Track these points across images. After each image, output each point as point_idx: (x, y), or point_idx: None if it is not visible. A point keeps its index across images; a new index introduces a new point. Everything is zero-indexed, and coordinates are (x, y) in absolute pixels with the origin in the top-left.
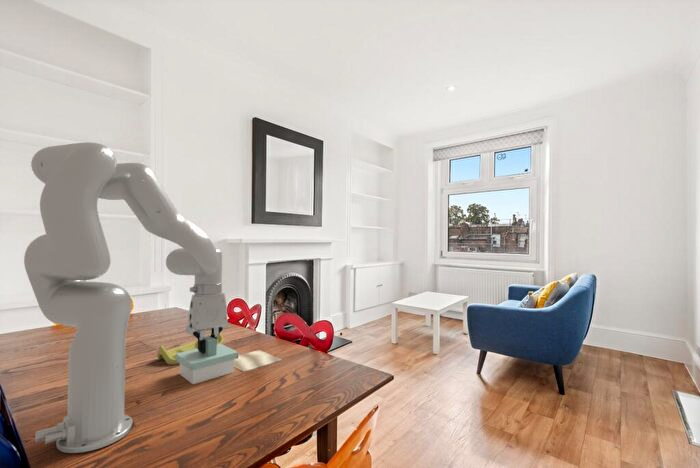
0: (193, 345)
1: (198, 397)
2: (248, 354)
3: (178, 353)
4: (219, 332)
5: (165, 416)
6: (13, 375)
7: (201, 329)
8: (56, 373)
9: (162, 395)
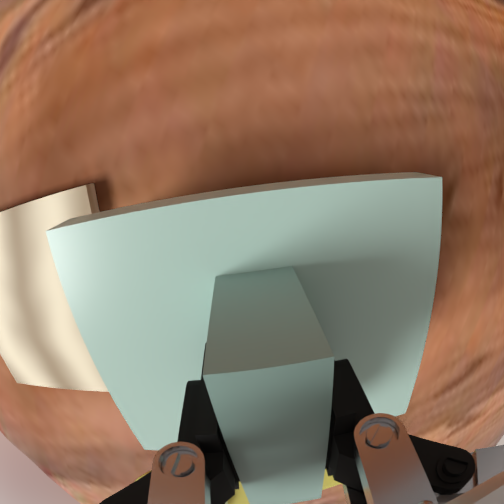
0: (239, 497)
1: (358, 58)
2: (48, 372)
3: (396, 410)
4: (139, 485)
5: (459, 26)
6: (498, 437)
7: (493, 491)
8: (479, 437)
9: (453, 186)
